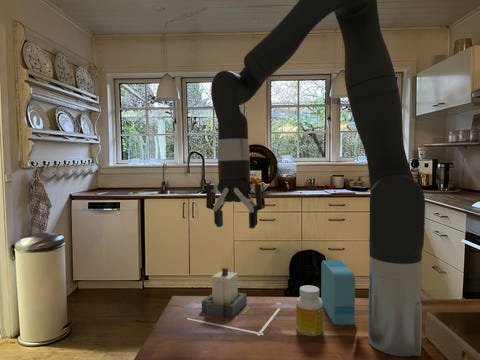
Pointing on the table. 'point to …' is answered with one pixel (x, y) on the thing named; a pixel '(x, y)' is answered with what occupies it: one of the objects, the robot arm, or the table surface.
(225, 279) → the plug
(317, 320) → the supplement bottle
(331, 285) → the data package
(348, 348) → the table surface
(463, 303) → the table surface
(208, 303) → the frame
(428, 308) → the table surface
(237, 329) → the header board
